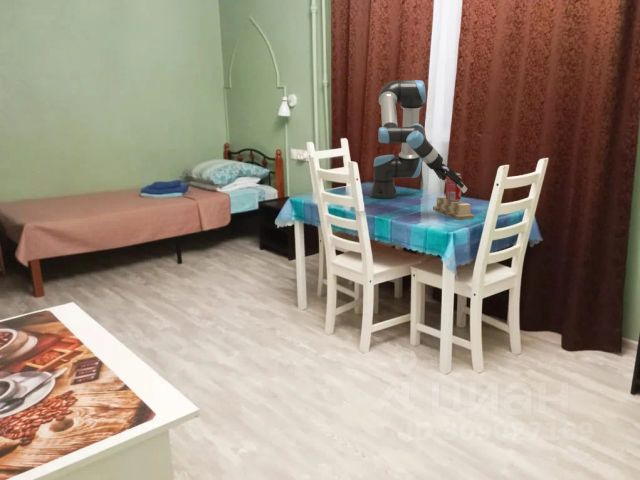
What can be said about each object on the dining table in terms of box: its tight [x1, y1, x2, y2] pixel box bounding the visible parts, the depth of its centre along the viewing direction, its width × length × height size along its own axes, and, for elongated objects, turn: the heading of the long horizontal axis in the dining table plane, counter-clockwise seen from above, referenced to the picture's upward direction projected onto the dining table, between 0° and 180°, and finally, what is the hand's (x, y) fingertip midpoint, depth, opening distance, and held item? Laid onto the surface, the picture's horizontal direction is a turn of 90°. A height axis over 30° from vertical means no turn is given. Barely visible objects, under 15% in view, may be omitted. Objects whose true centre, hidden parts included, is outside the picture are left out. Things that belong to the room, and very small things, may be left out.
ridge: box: [432, 195, 475, 221], centre depth 251 cm, size 24×8×6 cm, turn 18°
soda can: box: [445, 172, 463, 202], centre depth 248 cm, size 7×7×13 cm
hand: (459, 189), depth 249 cm, fingers open, 9 cm apart
